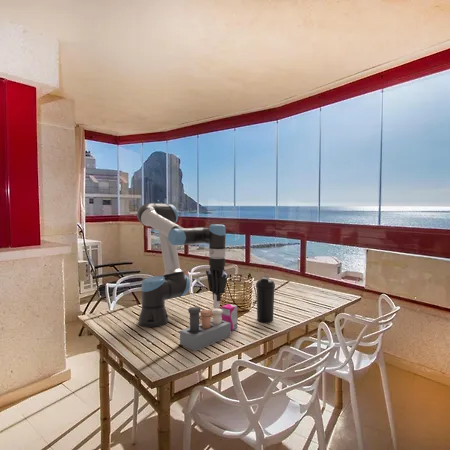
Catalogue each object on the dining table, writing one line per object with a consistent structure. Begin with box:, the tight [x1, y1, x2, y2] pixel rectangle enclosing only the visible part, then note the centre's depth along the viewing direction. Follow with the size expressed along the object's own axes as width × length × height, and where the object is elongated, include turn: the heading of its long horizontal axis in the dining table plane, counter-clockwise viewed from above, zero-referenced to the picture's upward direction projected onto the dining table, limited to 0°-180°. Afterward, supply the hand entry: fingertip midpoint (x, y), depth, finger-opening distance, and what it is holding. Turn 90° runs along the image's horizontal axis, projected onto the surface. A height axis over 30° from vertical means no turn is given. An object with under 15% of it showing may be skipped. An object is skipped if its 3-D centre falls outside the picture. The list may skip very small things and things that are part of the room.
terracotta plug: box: [199, 309, 213, 330], centre depth 132 cm, size 5×5×9 cm
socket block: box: [179, 318, 232, 352], centre depth 133 cm, size 10×22×6 cm, turn 137°
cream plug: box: [211, 308, 223, 325], centre depth 138 cm, size 5×5×9 cm
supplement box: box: [221, 303, 238, 332], centre depth 146 cm, size 6×6×12 cm
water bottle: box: [255, 275, 276, 324], centre depth 158 cm, size 10×10×23 cm
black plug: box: [187, 306, 202, 332], centre depth 127 cm, size 5×5×9 cm
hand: (216, 307), depth 138 cm, fingers closed
